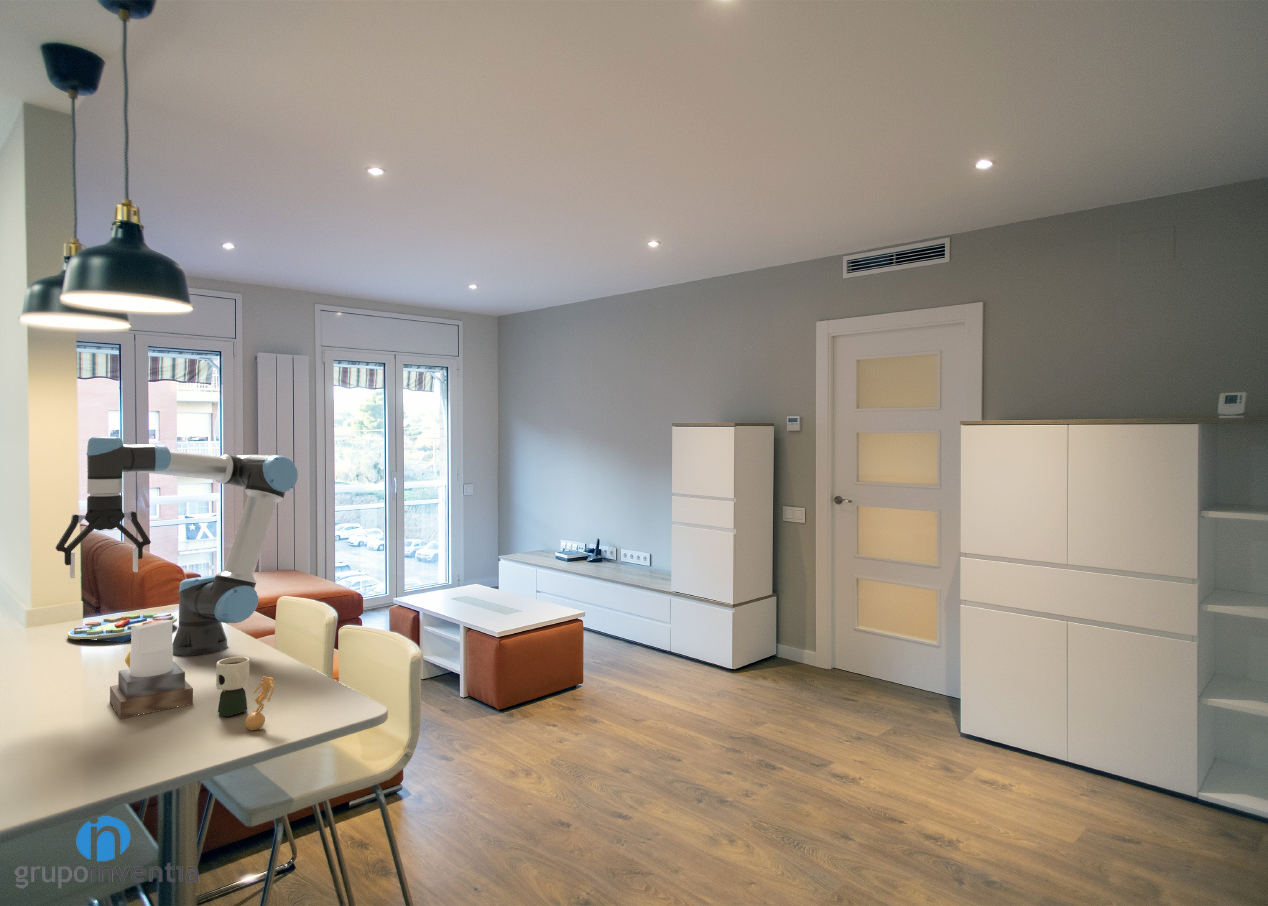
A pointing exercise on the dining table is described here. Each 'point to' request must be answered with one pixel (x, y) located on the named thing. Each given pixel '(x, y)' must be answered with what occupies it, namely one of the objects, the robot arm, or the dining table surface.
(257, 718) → the figurine
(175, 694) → the grey and brown block
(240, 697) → the character mug
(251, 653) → the dining table surface
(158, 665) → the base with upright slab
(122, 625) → the shape sorting clock
